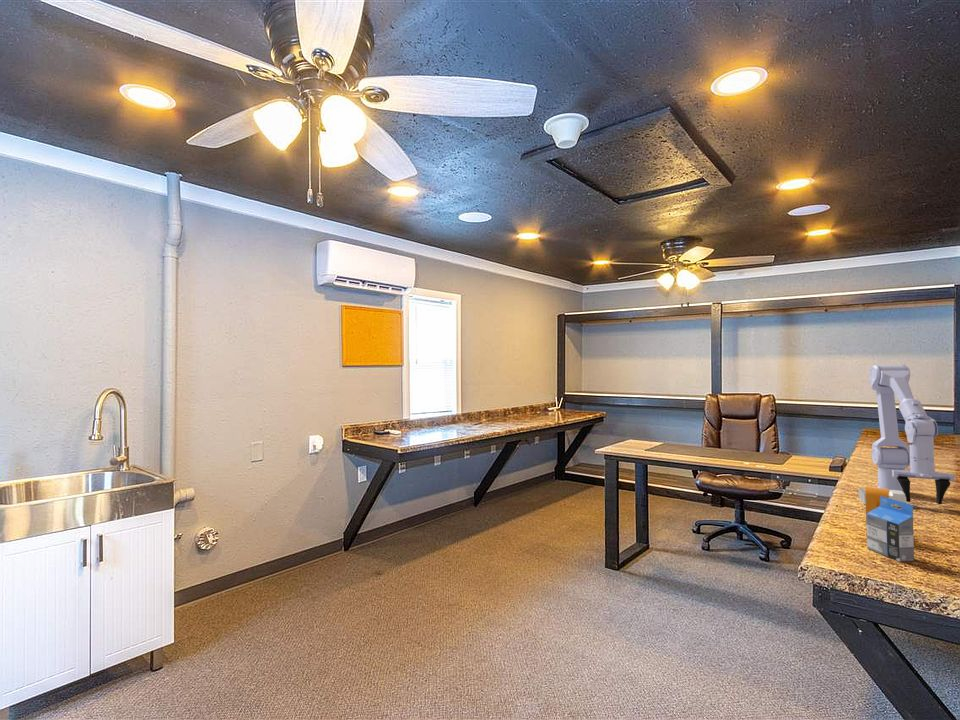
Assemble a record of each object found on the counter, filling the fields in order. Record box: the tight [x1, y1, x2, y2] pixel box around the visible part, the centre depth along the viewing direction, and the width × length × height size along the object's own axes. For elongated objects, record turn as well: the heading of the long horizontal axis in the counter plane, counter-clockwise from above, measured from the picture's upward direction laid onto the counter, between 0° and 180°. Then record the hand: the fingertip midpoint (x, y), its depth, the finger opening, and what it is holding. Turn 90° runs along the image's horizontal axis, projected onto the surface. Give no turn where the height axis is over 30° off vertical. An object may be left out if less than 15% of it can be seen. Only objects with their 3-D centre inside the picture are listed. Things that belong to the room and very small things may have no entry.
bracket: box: [865, 486, 889, 535], centre depth 130 cm, size 11×7×12 cm, turn 142°
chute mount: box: [858, 487, 894, 507], centre depth 164 cm, size 10×7×4 cm
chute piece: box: [889, 490, 907, 508], centre depth 162 cm, size 6×5×4 cm
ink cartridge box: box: [865, 496, 915, 563], centre depth 117 cm, size 9×4×12 cm, turn 4°
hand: (923, 502), depth 158 cm, fingers open, 7 cm apart
